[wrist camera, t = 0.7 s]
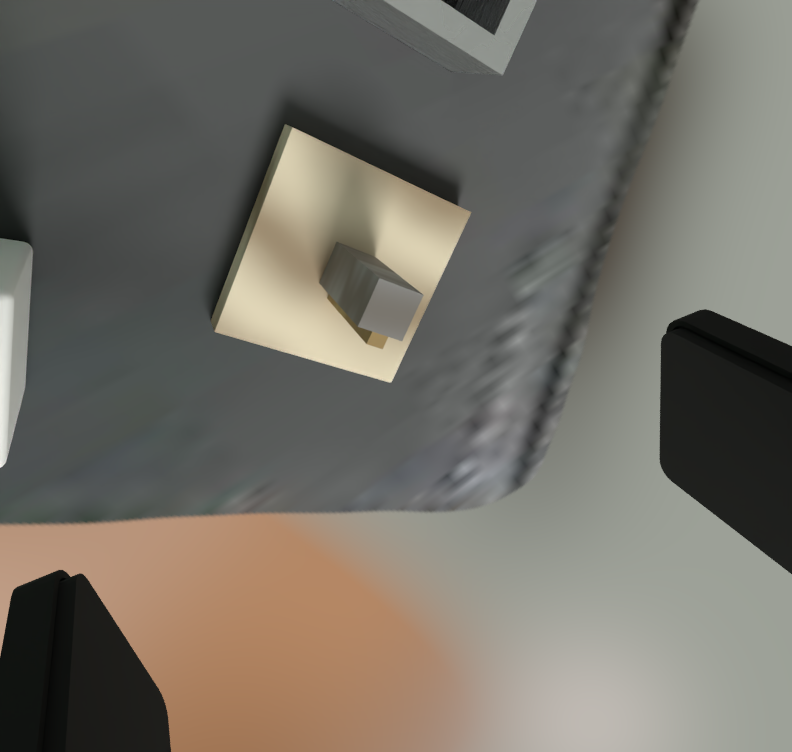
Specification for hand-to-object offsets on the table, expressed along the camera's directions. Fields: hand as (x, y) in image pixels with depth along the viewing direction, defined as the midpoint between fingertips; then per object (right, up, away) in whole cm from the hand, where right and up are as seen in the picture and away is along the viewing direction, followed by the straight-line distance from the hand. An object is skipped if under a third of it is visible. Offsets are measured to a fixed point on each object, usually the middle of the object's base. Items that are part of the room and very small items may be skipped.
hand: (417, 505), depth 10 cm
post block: (-3, +8, +23) cm, 25 cm away
